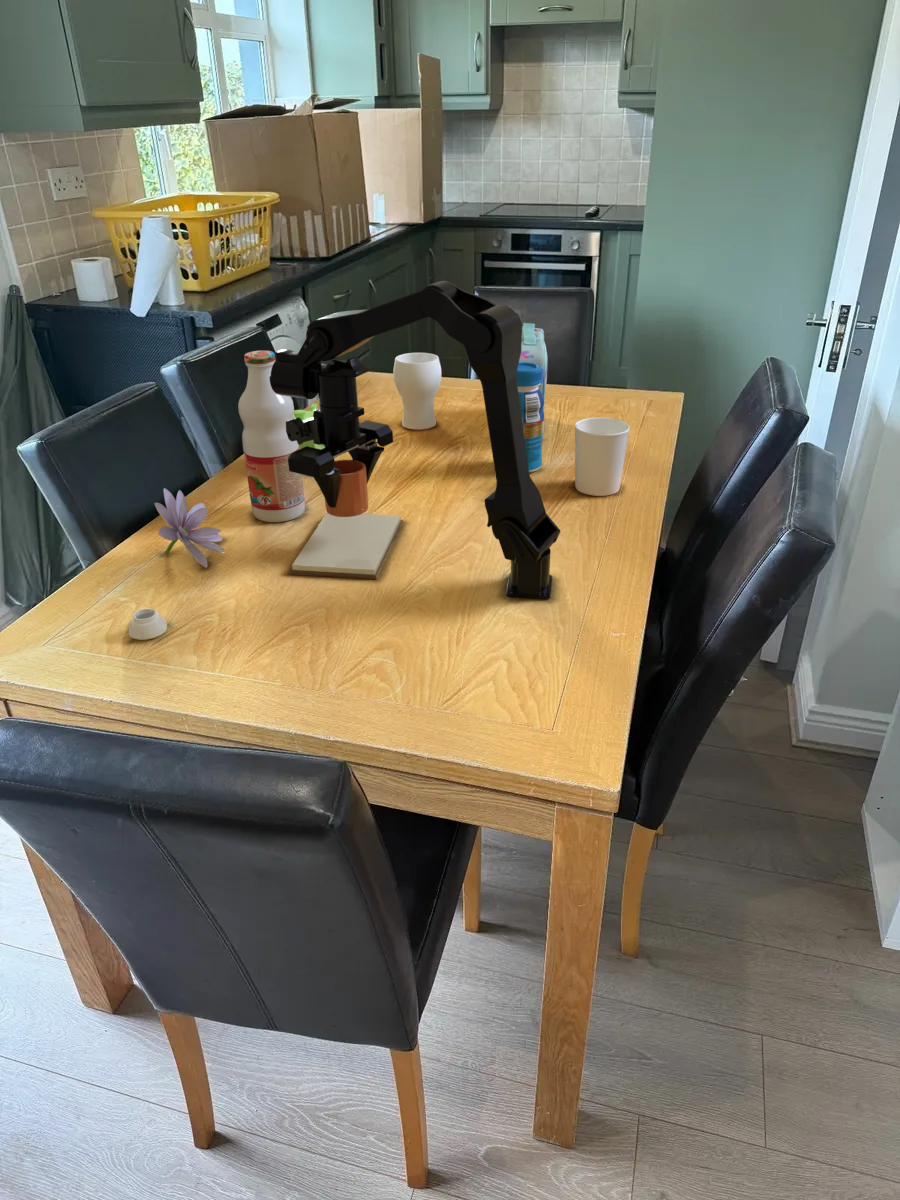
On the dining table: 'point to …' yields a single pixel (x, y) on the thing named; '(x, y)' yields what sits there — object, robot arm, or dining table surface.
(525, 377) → the beverage bottle
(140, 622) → the lidless jar
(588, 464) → the white tumbler
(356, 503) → the pot
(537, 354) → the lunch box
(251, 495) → the fruit juice
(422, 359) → the cup
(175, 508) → the water lily
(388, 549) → the tile
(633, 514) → the dining table surface
